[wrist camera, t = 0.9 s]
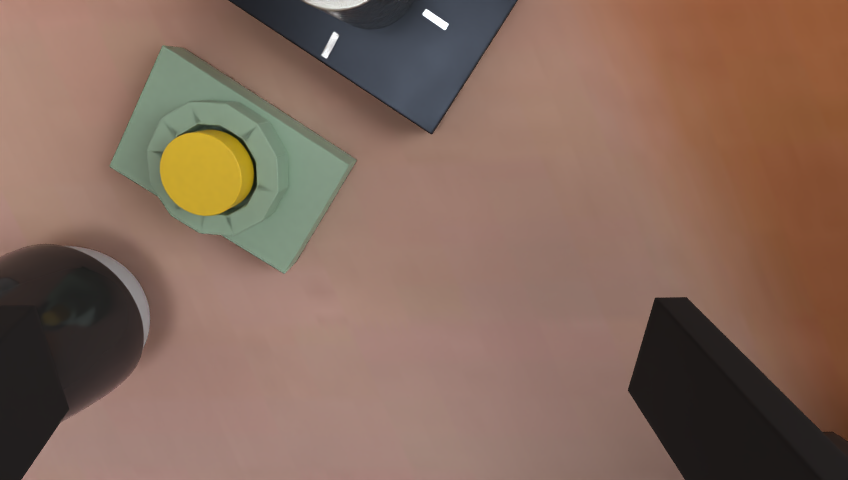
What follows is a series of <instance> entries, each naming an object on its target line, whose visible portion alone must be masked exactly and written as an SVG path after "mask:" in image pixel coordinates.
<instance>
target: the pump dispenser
mask: <svg viewBox="0 0 848 480" xmlns="http://www.w3.org/2000/svg"><path fill="white" fill-rule="evenodd" d="M0 305H36V308H37V312H38V315H39V318H40V321H41V324H42V327H43V330H44V333H45V336H46V339H47V342H48V345H49V348H50V351H51V354H52V357H53V360H54V363H55V366H56V369H57V372H58V376H59V379H60V382H61V385H62V388H63V391H64V394H65V397H66V400H67V403H68V406H69V410H68V412H67V413H66V415H65V416H64V418H63V419H62V421H64V420H66V419H68V418H70V417H71V416H73V415H75V414H77V413H78V412H80V411H82V410H84V409H85V408H87V407H88V406H90V405H92V404H93V403H95V402H97V401H98V400H100V399H101V398H103V397H104V396H106V395H107V394H109V393H110V392H111V391H113V390H114V389H115V388H117V387H118V386H119V385H120V384H121V383H122V382H124V381H125V380H126V379H127V378H128V377H129V376H130V374H131V373H132V372H133V371H134V369H135V368H136V366H137V364H138V362H139V360H140V357H141V354H142V350H143V348H144V345H145V343H146V340H147V337H148V333H149V327H150V311H149V305H148V301H147V298H146V295H145V293H144V291H143V289H142V287H141V285H140V284H139V282H138V281H137V279H136V278H135V277H134V276H133V274H132V273H131V272H130V271H129V270H128V269H127V268H126V267H124V266H123V265H122V264H121V263H119V262H118V261H116V260H115V259H113V258H111V257H109V256H107V255H105V254H103V253H101V252H98V251H95V250H92V249H88V248H83V247H77V246H61V245H54V244H38V245H31V246H27V247H23V248H20V249H17V250H15V251H12V252H10V253H7V254H5V255H3V256H1V257H0ZM62 421H61V422H62Z"/></svg>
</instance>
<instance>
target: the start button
mask: <svg viewBox="0 0 848 480" xmlns="http://www.w3.org/2000/svg"><path fill="white" fill-rule="evenodd" d="M160 176H161V180H162V184H163V186H164V188H165V190H166V192H167V194H168V195H169V197H170V198H171V199H172V200H173V201H174V202H175V203H176V204H177V205H178V206H179V207H181V208H182V209H184V210H186V211H188V212H190V213H192V214H196V215H200V216H213V215H217V214H220V213H222V212H224V211H226V210H228V209H230V208H232V207H234V206H236V205H237V204H239V203H241V202H242V201H243V200H244V199H245V198H246V197H247V195H248V194H249V192H250V190H251V188H252V185H253V180H254V168H253V163H252V160H251V158H250V155H249V154H248V152H247V150H246V149H245V147H244V146H243V145H242V144H241V143H240V142H239V141H238V140H237V139H236V138H234V137H233V136H231V135H229V134H227V133H225V132H222V131H219V130H202V131H196V132H191V133H186V134H183V135H180V136H178V137H176V138H175V139H173V140H172V141H171V142H170V143H169V144H168V145H167V147H166V148H165V150H164V152H163V154H162V157H161V161H160Z"/></svg>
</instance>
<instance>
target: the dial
mask: <svg viewBox="0 0 848 480" xmlns="http://www.w3.org/2000/svg"><path fill="white" fill-rule="evenodd" d="M301 1H303V2H305V3H307V4H308V5H310V6H312V7H315V8H317V9H319V10H321V11H323V12H325V13H327V14H329V15H331V16H333V17H335V18H337V19H339V20H341V21H343V22H345V23H348V24H350V25H352V26H354V27H358V28H362V29H378V28H383V27H386V26H388V25H390V24H392V23H394V22H396V21H397V20H399V19H400V18H401V17H402V16H403V15H404V14H405V13H406V12H407V11H408V10H409V8H410V7H411V5H412V4H413V2H414V0H301Z"/></svg>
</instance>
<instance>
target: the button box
mask: <svg viewBox="0 0 848 480" xmlns="http://www.w3.org/2000/svg"><path fill="white" fill-rule="evenodd" d="M202 130H219V131H222V132H225V133H227V134H229V135H231V136H233V137H234V138H236V139H237V140H238V141H239V142H240V143H241V144H242V145H243V146H244V147H245V149H246V150H247V152H248V154H249V155H250V158H251V160H252V163H253V168H254V180H253V185H252V188H251V190H250V192H249V194H248V195H247V197H246V198H245V199H244V200H243V201H242V202H241V203H239V204H237V205H236V206H234V207H232V208H230V209H228V210H226V211H224V212H222V213H220V214H217V215H213V216H200V215H196V214H192V213H190V212H188V211H186V210H184V209H182V208H181V207H179V206H178V205H177V204H176V203H175V202H174V201H173V200H172V199H171V198H170V197H169V195H168V194H167V192H166V190H165V188H164V186H163V184H162V180H161V176H160V161H161V157H162V154H163V152H164V150H165V148H166V147H167V145H168V144H169V143H170V142H171V141H172V140H173V139H175V138H176V137H178V136H180V135H183V134H186V133H191V132H196V131H202ZM356 161H357V160H356V159H355V158H353V157H352V156H350V155H349V154H347V153H346V152H344V151H342V150H341V149H339V148H338V147H336V146H335V145H333V144H332V143H330V142H329V141H327V140H325V139H324V138H322V137H321V136H319V135H318V134H316V133H315V132H313V131H312V130H310V129H308V128H307V127H305V126H304V125H302V124H301V123H299V122H298V121H296V120H294V119H293V118H291V117H290V116H288V115H287V114H285V113H284V112H282V111H281V110H279V109H277V108H276V107H274V106H273V105H271V104H270V103H268V102H267V101H265V100H264V99H262V98H260V97H259V96H257V95H256V94H254V93H253V92H251V91H250V90H248V89H246V88H245V87H243V86H242V85H240V84H239V83H237V82H236V81H234V80H233V79H231V78H229V77H228V76H226V75H225V74H223V73H222V72H220V71H219V70H217V69H216V68H214V67H212V66H211V65H209V64H208V63H206V62H205V61H203V60H202V59H200V58H198V57H197V56H195V55H194V54H192V53H191V52H189V51H188V50H186V49H185V48H181V47H173V46H164V45H163V46H162V48H161V50H160V53H159V55H158V57H157V59H156V62H155V64H154V66H153V68H152V71H151V73H150V75H149V78H148V80H147V82H146V84H145V87H144V89H143V91H142V93H141V96H140V98H139V100H138V103H137V105H136V107H135V109H134V112H133V114H132V116H131V118H130V121H129V123H128V125H127V128H126V130H125V132H124V134H123V137H122V139H121V141H120V143H119V146H118V148H117V150H116V153H115V155H114V157H113V159H112V162H111V164H110V167H111V168H112V169H114V170H116V171H117V172H119V173H121V174H122V175H124V176H125V177H127V178H129V179H130V180H132V181H134V182H135V183H137V184H139V185H140V186H142V187H143V188H145V189H147V190H148V191H150V192H152V193H153V194H155V195H156V196H158V197H159V199H160V200H161V202H162V203H163V205H164V206H165V208H166V209H167V211H168V212H169V214H171V216H172V217H174V218H176V219H177V220H179V221H181V222H182V223H184V224H185V225H187V226H189V227H190V228H192V229H194V230H195V231H197V232H199V233H202V234H215V235H222V236H223V237H225V238H227V239H228V240H230V241H231V242H233V243H235V244H236V245H238V246H240V247H241V248H243V249H245V250H246V251H248V252H249V253H251V254H253V255H254V256H256V257H258V258H259V259H261V260H262V261H264V262H266V263H267V264H269V265H271V266H272V267H274V268H276V269H277V270H279V271H280V272H282V273H284V274H285V273H286V272H287V271H288V270H289V269H290V268H291V267H292V266H293V265H294V264H295V263H296V261H297V259H298V258H299V256H300V254H301V253H302V251H303V249H304V248H305V246H306V244H307V243H308V241H309V239H310V238H311V236H312V234H313V233H314V231H315V229H316V228H317V226H318V224H319V223H320V221H321V219H322V218H323V216H324V214H325V213H326V211H327V209H328V208H329V206H330V204H331V203H332V201H333V199H334V198H335V196H336V194H337V193H338V191H339V189H340V188H341V186H342V184H343V183H344V181H345V179H346V178H347V176H348V174H349V173H350V171H351V169H352V168H353V166H354V164H355V163H356Z"/></svg>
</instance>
